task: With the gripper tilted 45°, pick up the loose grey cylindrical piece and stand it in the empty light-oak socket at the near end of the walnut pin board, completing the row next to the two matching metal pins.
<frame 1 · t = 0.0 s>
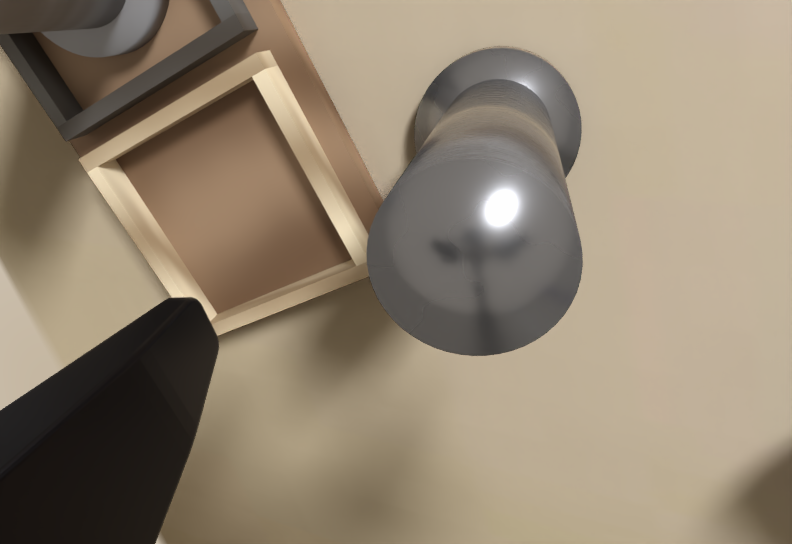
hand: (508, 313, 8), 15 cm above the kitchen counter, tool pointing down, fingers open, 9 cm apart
grey cylindrical piece: (496, 130, 22), on the kitchen counter
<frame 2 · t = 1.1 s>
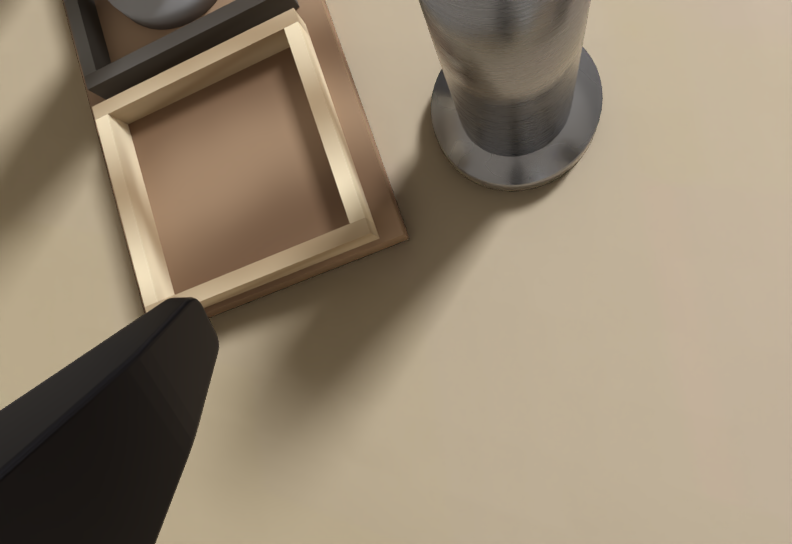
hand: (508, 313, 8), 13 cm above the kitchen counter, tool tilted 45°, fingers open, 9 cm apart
grey cylindrical piece: (514, 112, 21), on the kitchen counter
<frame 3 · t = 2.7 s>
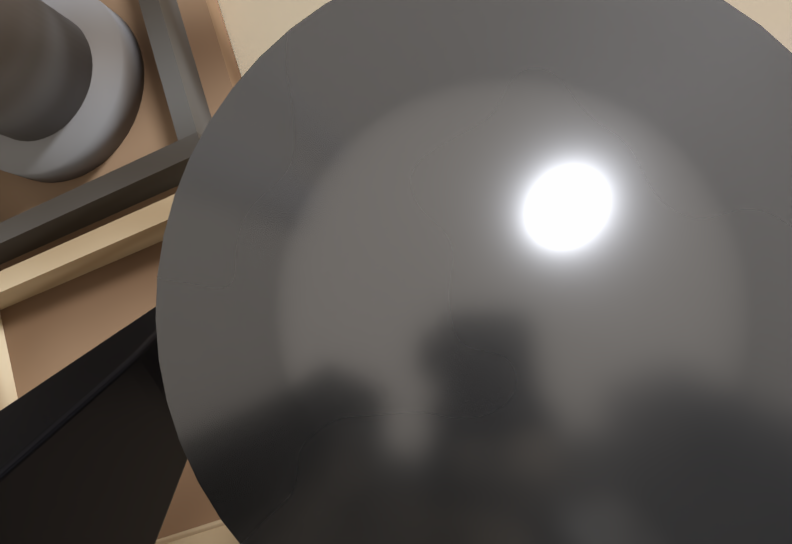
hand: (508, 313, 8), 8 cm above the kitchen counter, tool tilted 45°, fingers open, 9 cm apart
pin board: (85, 103, 19), on the kitchen counter
grey cylindrical piece: (520, 326, 15), on the kitchen counter
when the fingers open (9 cm above the kitchen counter, at t = 8.5 s): grey cylindrical piece drops 1 cm, resting on pin board.
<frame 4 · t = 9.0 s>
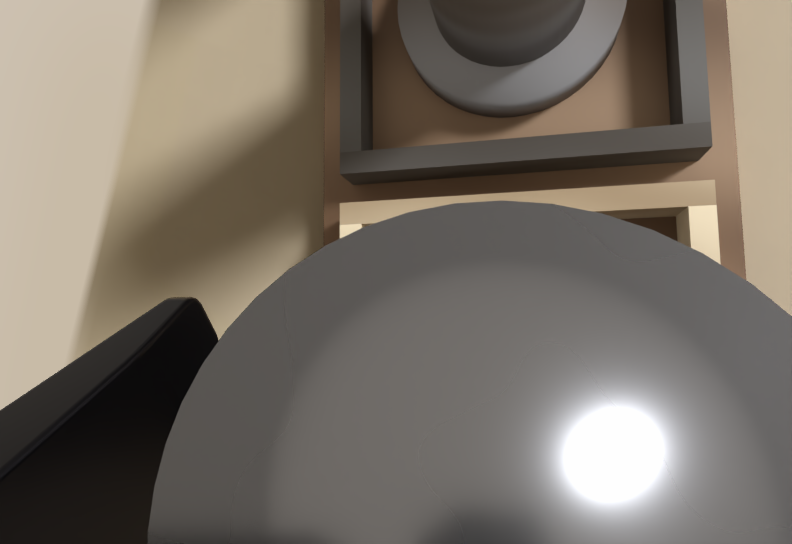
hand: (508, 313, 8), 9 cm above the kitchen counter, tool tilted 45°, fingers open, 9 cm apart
pin board: (510, 32, 17), on the kitchen counter
grey cylindrical piece: (520, 379, 15), point 1 cm above the kitchen counter, touching pin board
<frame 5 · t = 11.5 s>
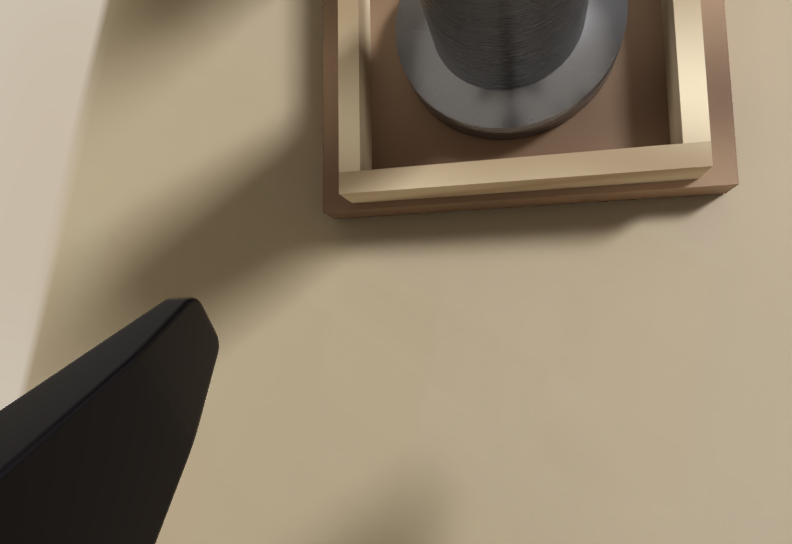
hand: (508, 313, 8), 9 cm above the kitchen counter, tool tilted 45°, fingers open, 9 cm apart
grey cylindrical piece: (507, 35, 16), point 1 cm above the kitchen counter, touching pin board
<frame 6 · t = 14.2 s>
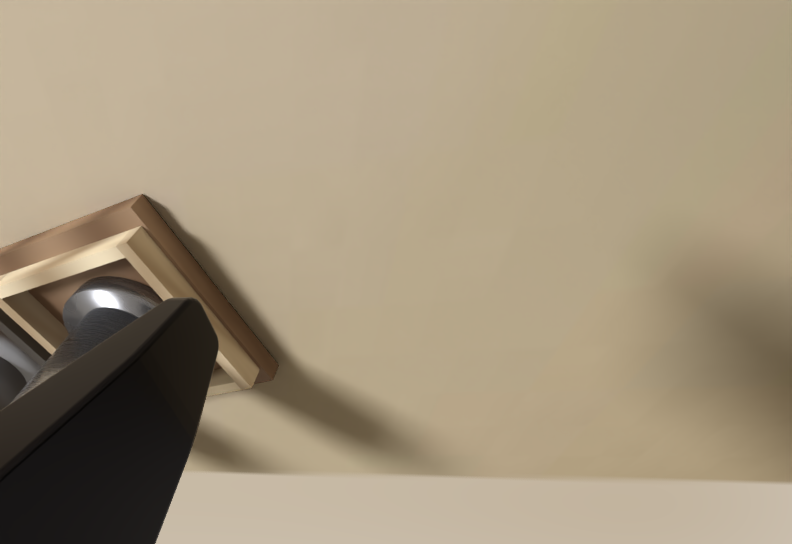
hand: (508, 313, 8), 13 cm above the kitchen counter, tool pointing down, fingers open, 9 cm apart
pin board: (15, 345, 33), on the kitchen counter
grey cylindrical piece: (135, 323, 28), point 1 cm above the kitchen counter, touching pin board
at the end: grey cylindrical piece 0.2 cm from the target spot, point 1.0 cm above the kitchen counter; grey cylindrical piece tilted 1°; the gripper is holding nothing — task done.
